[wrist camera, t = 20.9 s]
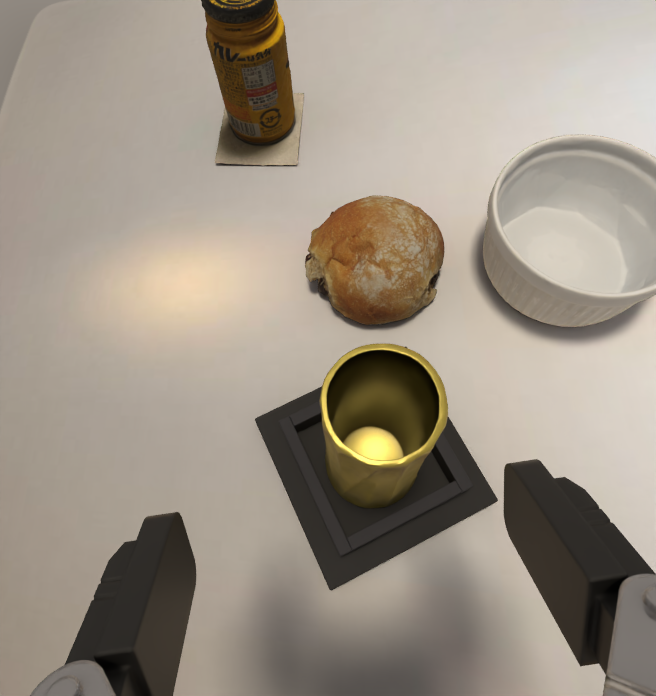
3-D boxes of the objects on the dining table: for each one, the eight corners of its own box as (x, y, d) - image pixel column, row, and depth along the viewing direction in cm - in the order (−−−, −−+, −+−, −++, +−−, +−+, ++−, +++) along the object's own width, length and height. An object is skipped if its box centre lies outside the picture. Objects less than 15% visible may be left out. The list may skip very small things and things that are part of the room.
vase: (351, 526, 32) (350, 507, 19) (310, 440, 34) (283, 370, 21) (434, 482, 33) (489, 434, 20) (389, 401, 35) (411, 309, 22)
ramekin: (584, 176, 43) (626, 109, 36) (680, 306, 38) (747, 255, 31) (441, 227, 41) (458, 167, 35) (521, 368, 37) (557, 328, 30)
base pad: (330, 589, 32) (328, 593, 29) (256, 422, 36) (248, 411, 33) (494, 501, 33) (507, 497, 30) (404, 350, 38) (409, 334, 35)
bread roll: (395, 354, 41) (454, 327, 34) (280, 305, 38) (317, 264, 31) (421, 253, 45) (479, 209, 37) (317, 201, 42) (357, 143, 35)
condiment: (304, 95, 48) (289, -45, 37) (297, 166, 44) (278, 37, 33) (227, 94, 48) (190, -43, 37) (215, 165, 45) (170, 37, 34)
